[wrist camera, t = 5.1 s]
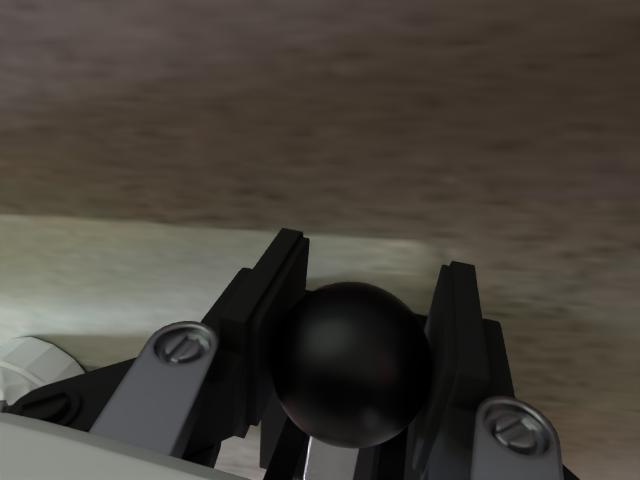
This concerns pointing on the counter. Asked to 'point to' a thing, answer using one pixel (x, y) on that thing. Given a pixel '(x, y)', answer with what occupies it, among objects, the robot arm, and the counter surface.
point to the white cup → (32, 367)
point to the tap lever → (349, 372)
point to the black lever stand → (292, 444)
